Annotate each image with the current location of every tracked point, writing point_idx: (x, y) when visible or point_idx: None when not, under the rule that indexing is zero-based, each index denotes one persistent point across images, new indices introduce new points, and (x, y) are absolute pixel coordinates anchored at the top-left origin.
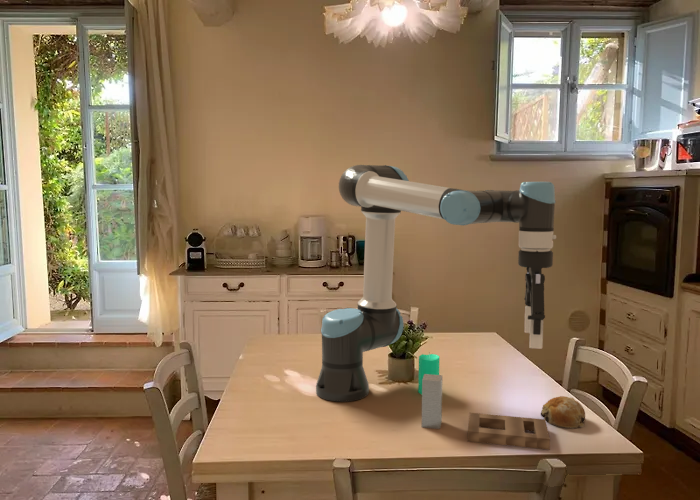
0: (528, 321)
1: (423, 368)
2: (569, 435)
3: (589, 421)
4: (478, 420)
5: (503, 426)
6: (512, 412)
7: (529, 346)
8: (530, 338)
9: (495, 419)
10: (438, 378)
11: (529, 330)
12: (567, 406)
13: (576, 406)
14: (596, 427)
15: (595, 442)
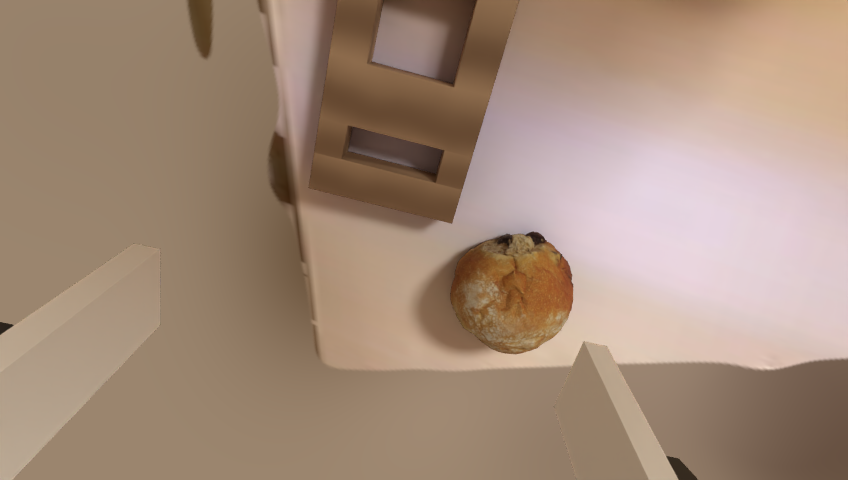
0: (605, 434)
1: None
2: (410, 262)
3: None
4: None
5: (454, 80)
6: (590, 154)
7: (137, 249)
8: (80, 284)
9: (463, 53)
10: None
11: (575, 382)
12: (474, 309)
13: (480, 334)
14: (458, 344)
15: (369, 307)
